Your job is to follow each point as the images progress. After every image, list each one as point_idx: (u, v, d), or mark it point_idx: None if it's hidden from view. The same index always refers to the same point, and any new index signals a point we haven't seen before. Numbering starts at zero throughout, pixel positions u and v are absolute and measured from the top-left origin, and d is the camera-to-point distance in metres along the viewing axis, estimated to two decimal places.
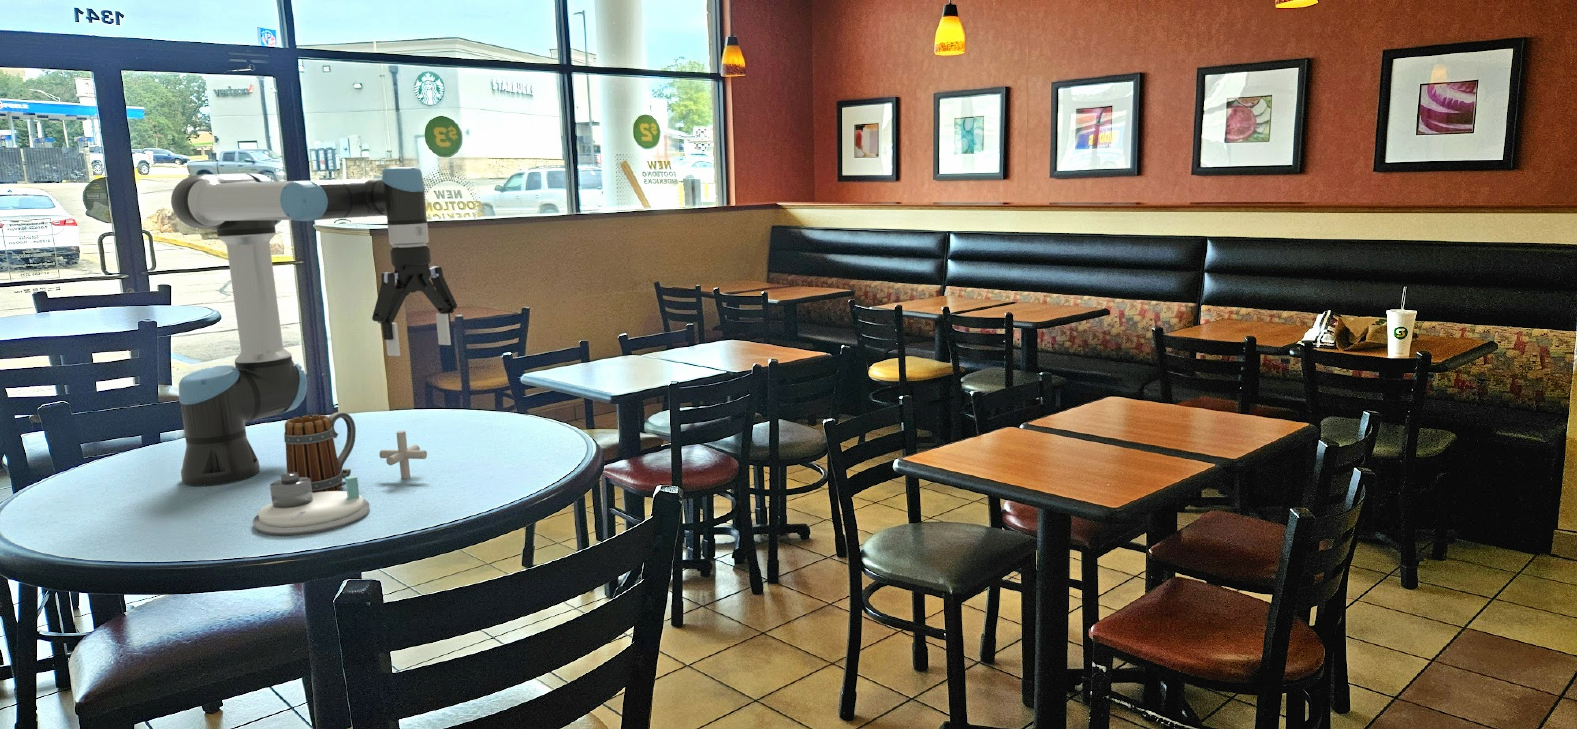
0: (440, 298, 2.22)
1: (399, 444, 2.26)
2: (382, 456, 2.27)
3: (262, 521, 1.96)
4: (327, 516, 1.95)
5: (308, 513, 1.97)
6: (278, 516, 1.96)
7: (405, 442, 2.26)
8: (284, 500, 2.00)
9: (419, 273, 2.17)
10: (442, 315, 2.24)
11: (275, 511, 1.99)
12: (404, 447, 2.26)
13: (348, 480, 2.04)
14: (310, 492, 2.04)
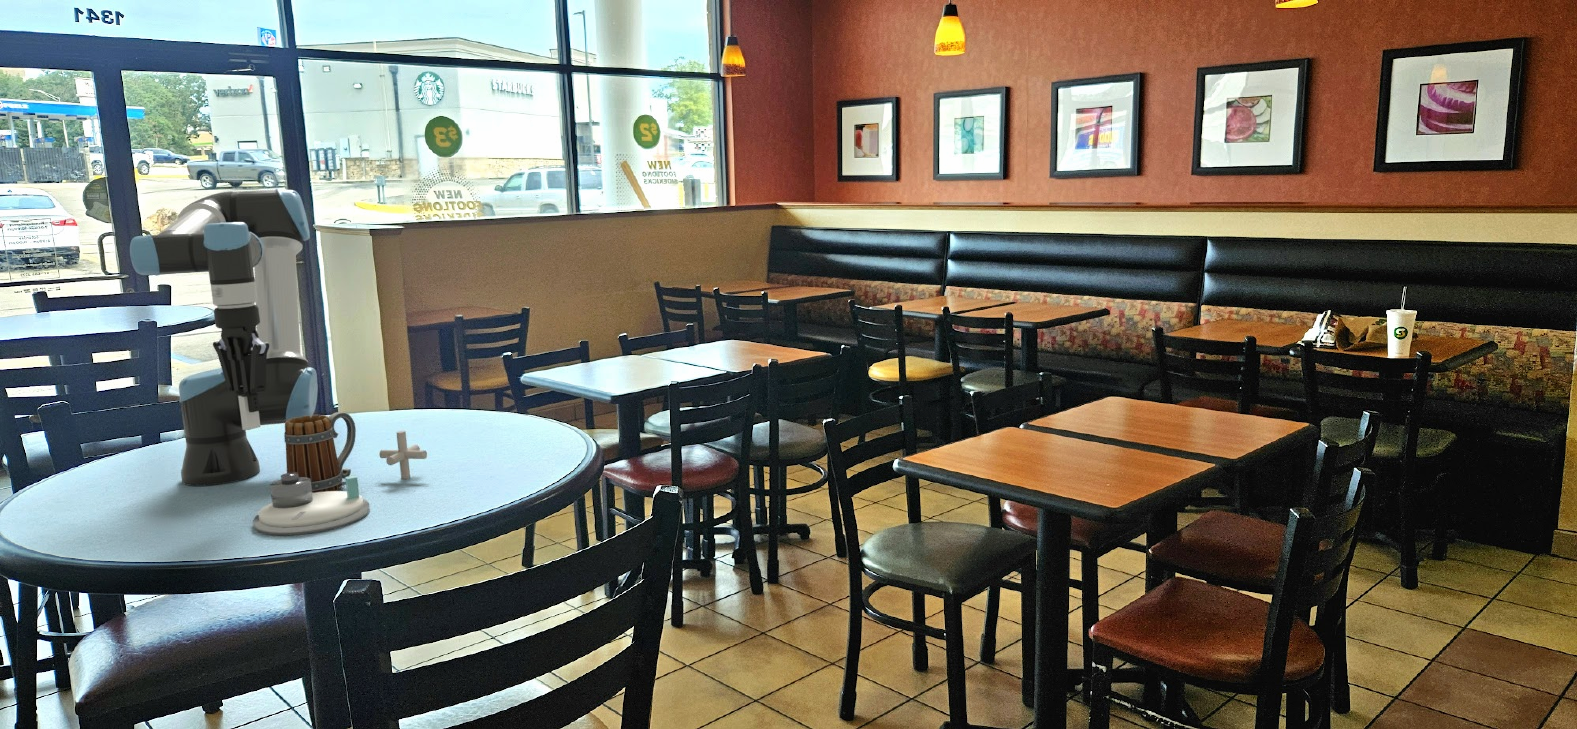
0: (244, 375, 2.02)
1: (399, 444, 2.26)
2: (382, 456, 2.27)
3: (262, 521, 1.96)
4: (327, 516, 1.95)
5: (308, 513, 1.97)
6: (278, 516, 1.96)
7: (405, 442, 2.26)
8: (284, 500, 2.00)
9: (238, 329, 2.01)
10: None
11: (275, 511, 1.99)
12: (404, 447, 2.26)
13: (348, 480, 2.04)
14: (310, 492, 2.04)
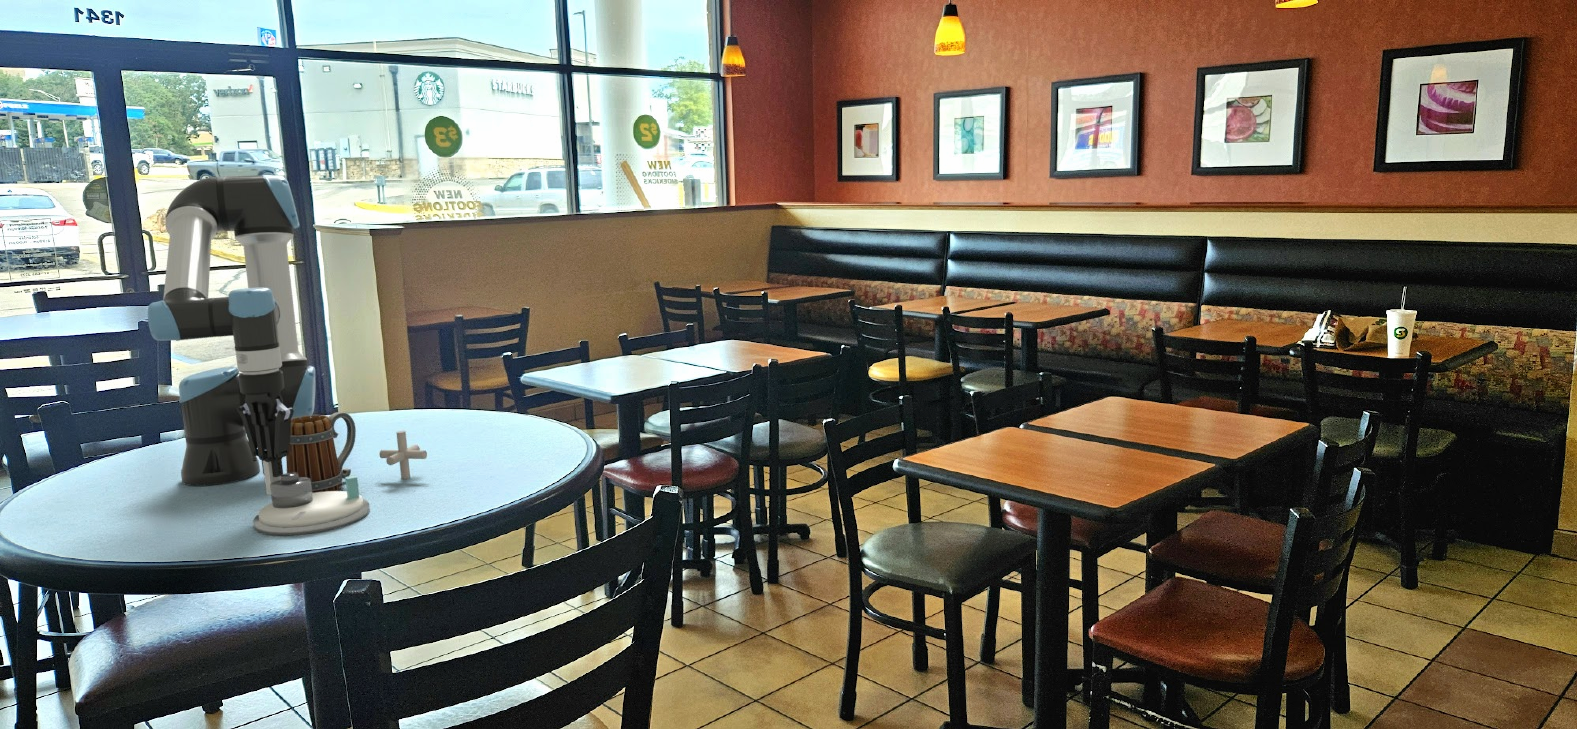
0: (268, 440, 2.02)
1: (399, 444, 2.26)
2: (382, 456, 2.27)
3: (262, 521, 1.96)
4: (327, 516, 1.95)
5: (308, 513, 1.97)
6: (278, 516, 1.96)
7: (405, 442, 2.26)
8: (284, 500, 2.00)
9: (262, 394, 2.01)
10: None
11: (275, 511, 1.99)
12: (404, 447, 2.26)
13: (348, 480, 2.04)
14: (310, 492, 2.04)
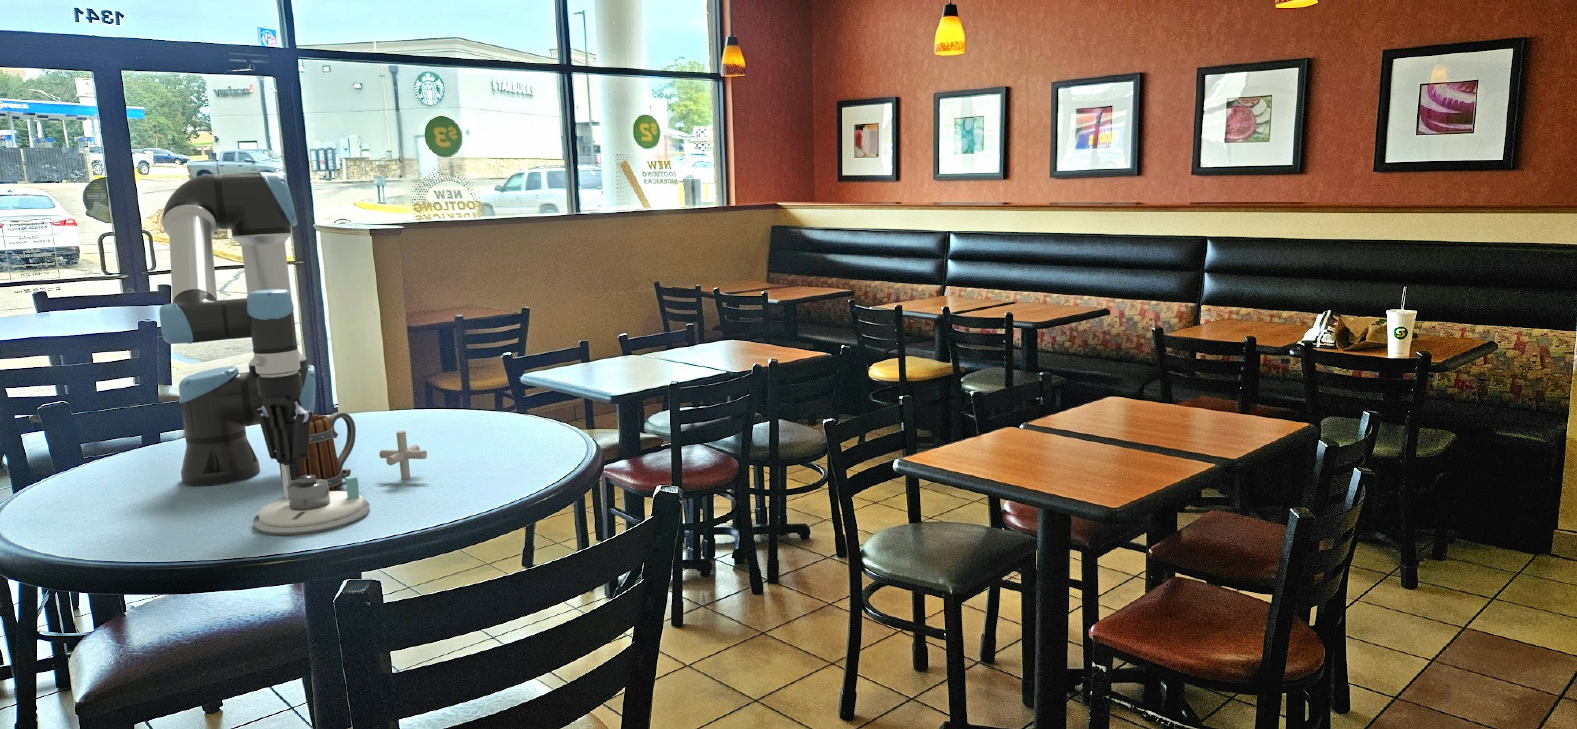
0: (286, 443, 2.00)
1: (399, 444, 2.26)
2: (382, 456, 2.27)
3: (262, 521, 1.96)
4: (327, 516, 1.95)
5: (308, 513, 1.97)
6: (278, 516, 1.96)
7: (405, 442, 2.26)
8: (301, 503, 1.98)
9: (281, 397, 1.99)
10: None
11: (275, 511, 1.99)
12: (404, 447, 2.26)
13: (348, 480, 2.04)
14: (327, 495, 2.02)
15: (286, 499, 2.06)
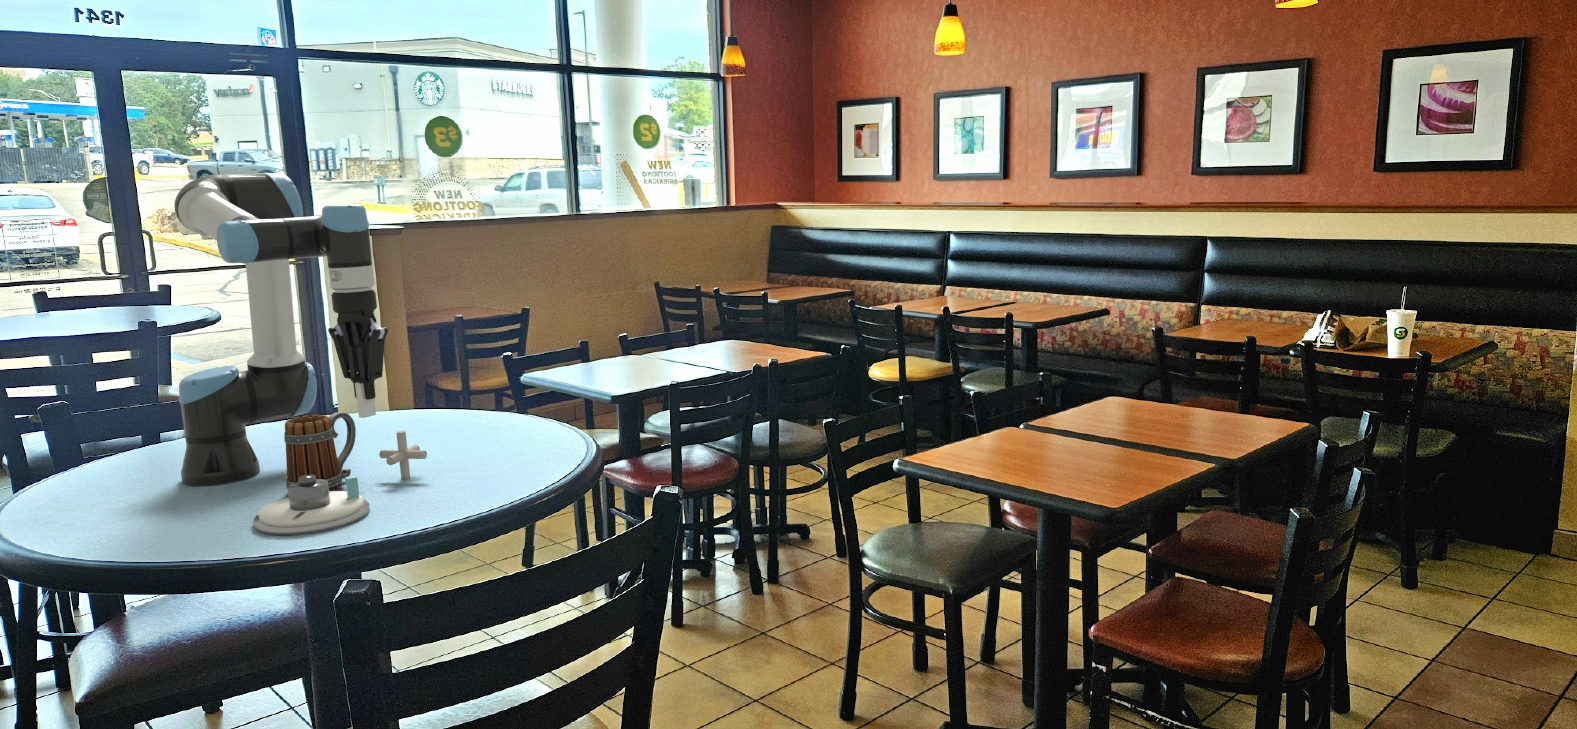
0: (361, 361, 1.97)
1: (399, 444, 2.26)
2: (382, 456, 2.27)
3: (262, 521, 1.96)
4: (327, 516, 1.95)
5: (308, 513, 1.97)
6: (278, 516, 1.96)
7: (405, 442, 2.26)
8: (301, 503, 1.98)
9: (356, 313, 1.96)
10: None
11: (275, 511, 1.99)
12: (404, 447, 2.26)
13: (348, 480, 2.04)
14: (327, 495, 2.02)
15: (286, 499, 2.06)
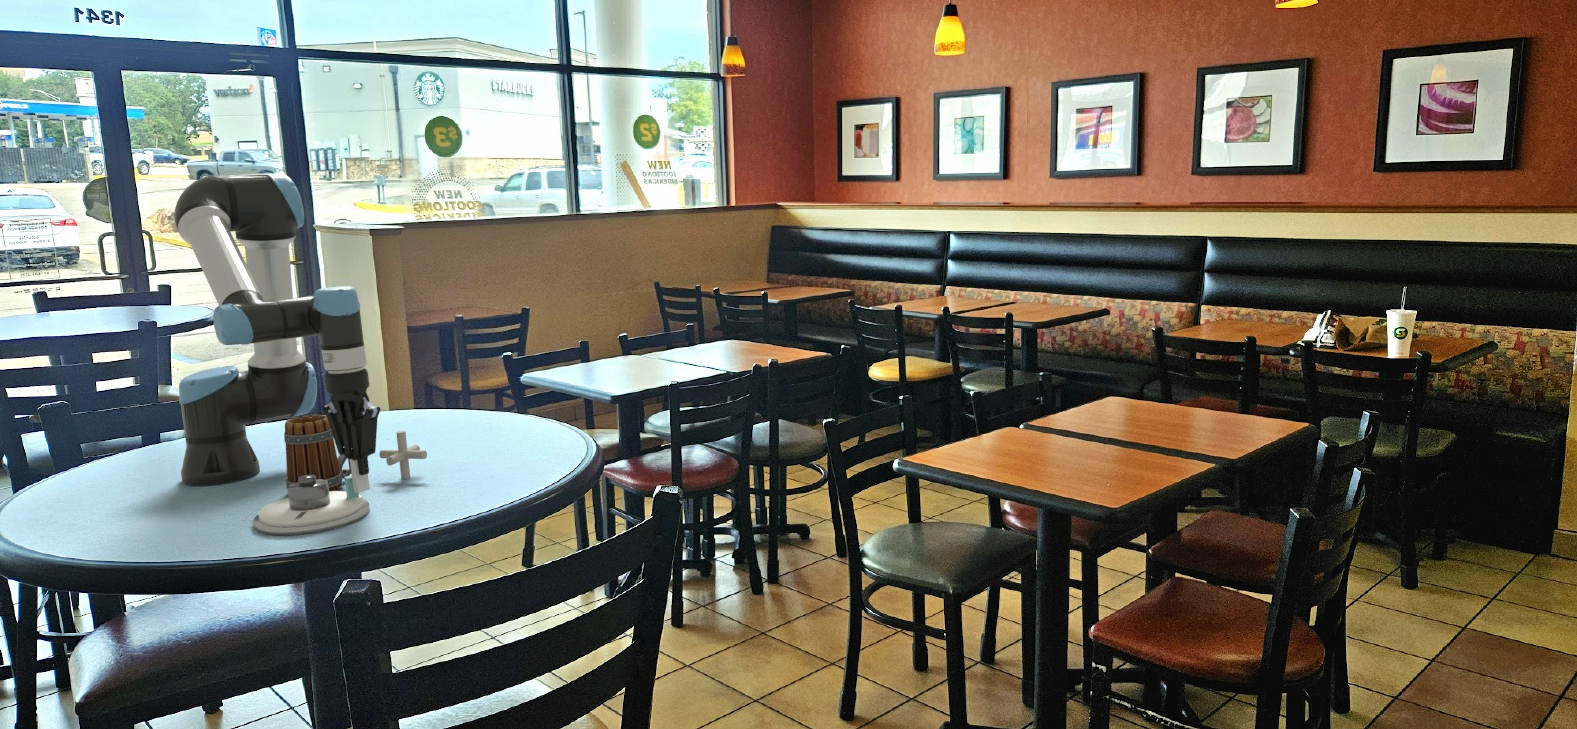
0: (355, 439, 2.02)
1: (399, 444, 2.26)
2: (382, 456, 2.27)
3: (263, 521, 1.95)
4: (329, 515, 1.95)
5: (310, 513, 1.97)
6: (280, 516, 1.96)
7: (405, 442, 2.26)
8: (302, 503, 1.98)
9: (349, 393, 2.01)
10: None
11: (275, 512, 1.99)
12: (404, 447, 2.26)
13: (348, 480, 2.05)
14: (327, 494, 2.02)
15: (284, 500, 2.06)
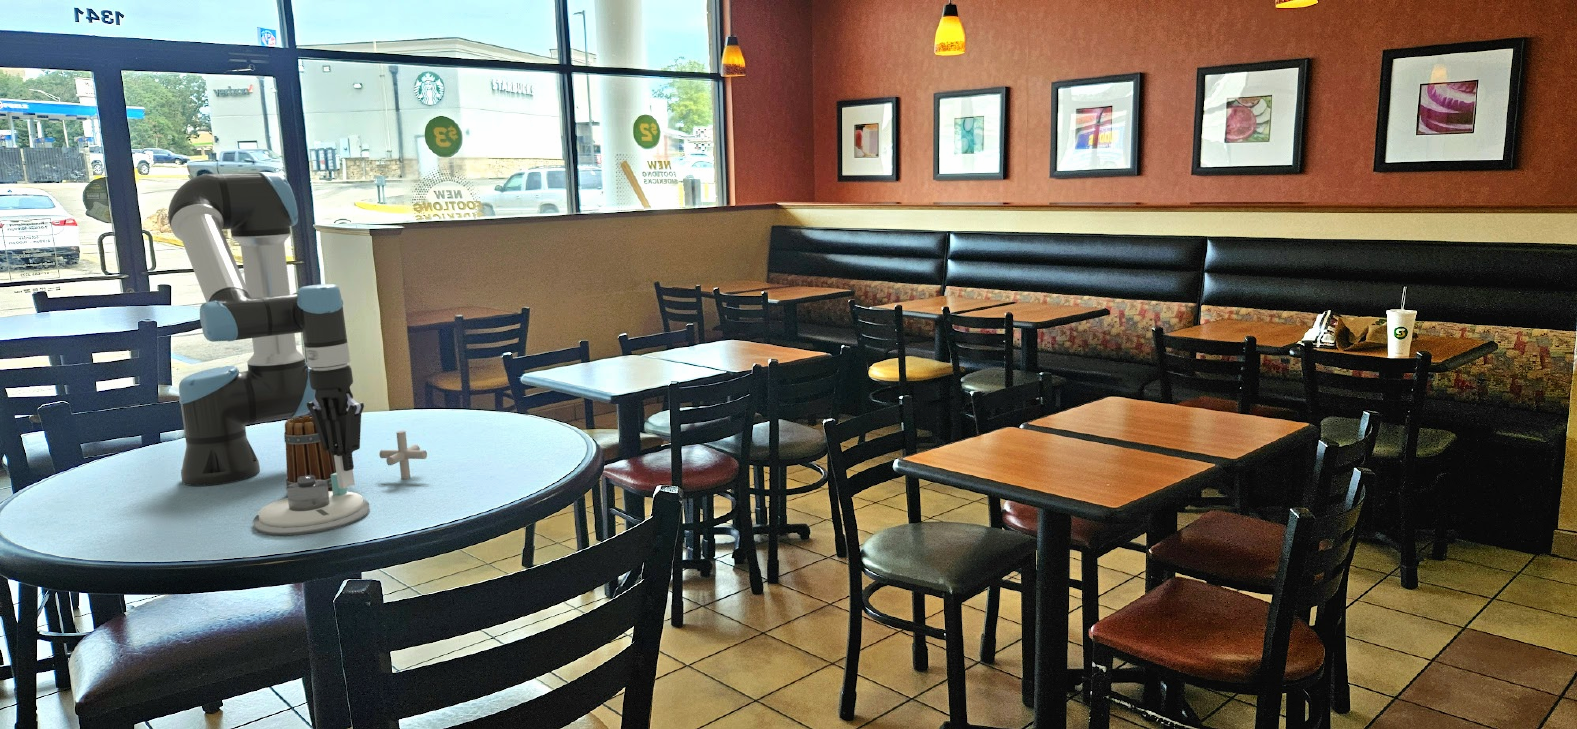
0: (339, 435, 2.05)
1: (399, 444, 2.26)
2: (382, 456, 2.27)
3: (285, 524, 1.93)
4: (354, 507, 2.00)
5: (328, 509, 1.99)
6: (301, 516, 1.95)
7: (405, 442, 2.26)
8: (313, 502, 1.99)
9: (333, 390, 2.03)
10: None
11: (285, 515, 1.96)
12: (404, 447, 2.26)
13: None
14: None
15: (267, 507, 2.01)
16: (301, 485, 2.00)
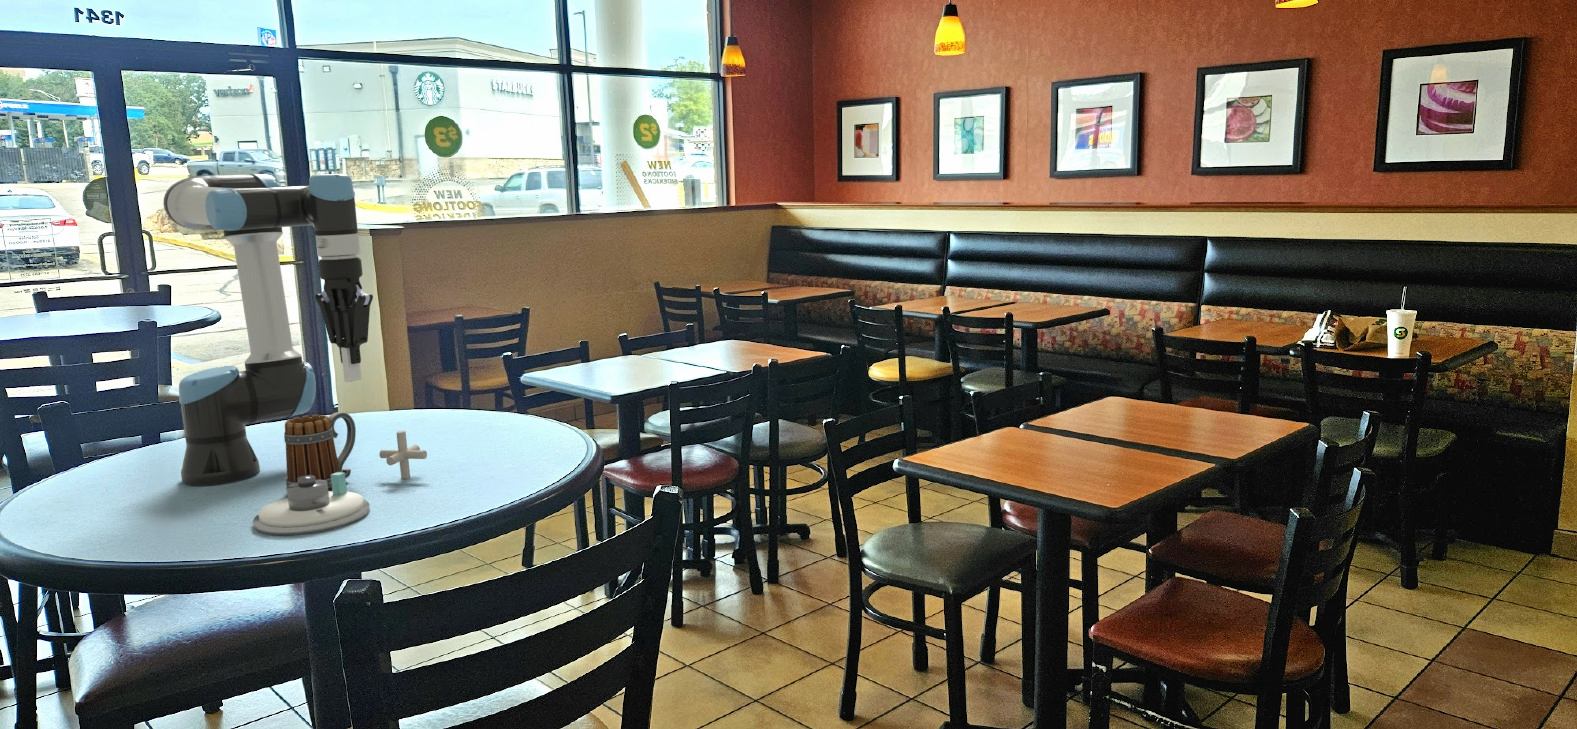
0: (347, 326, 2.03)
1: (399, 444, 2.26)
2: (382, 456, 2.27)
3: (285, 524, 1.93)
4: (354, 507, 2.00)
5: (328, 509, 1.99)
6: (301, 516, 1.95)
7: (405, 442, 2.26)
8: (313, 502, 1.99)
9: (342, 280, 2.02)
10: None
11: (285, 515, 1.96)
12: (404, 447, 2.26)
13: (339, 476, 2.07)
14: None
15: (267, 507, 2.01)
16: (301, 485, 2.00)
